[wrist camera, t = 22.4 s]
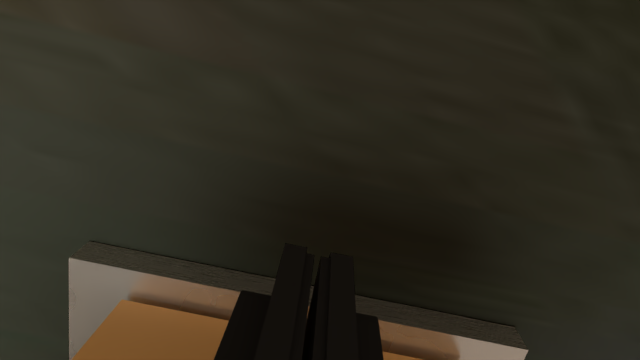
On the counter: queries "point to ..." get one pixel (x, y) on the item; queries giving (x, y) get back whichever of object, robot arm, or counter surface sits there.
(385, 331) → the vise base
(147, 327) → the block
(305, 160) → the counter surface
